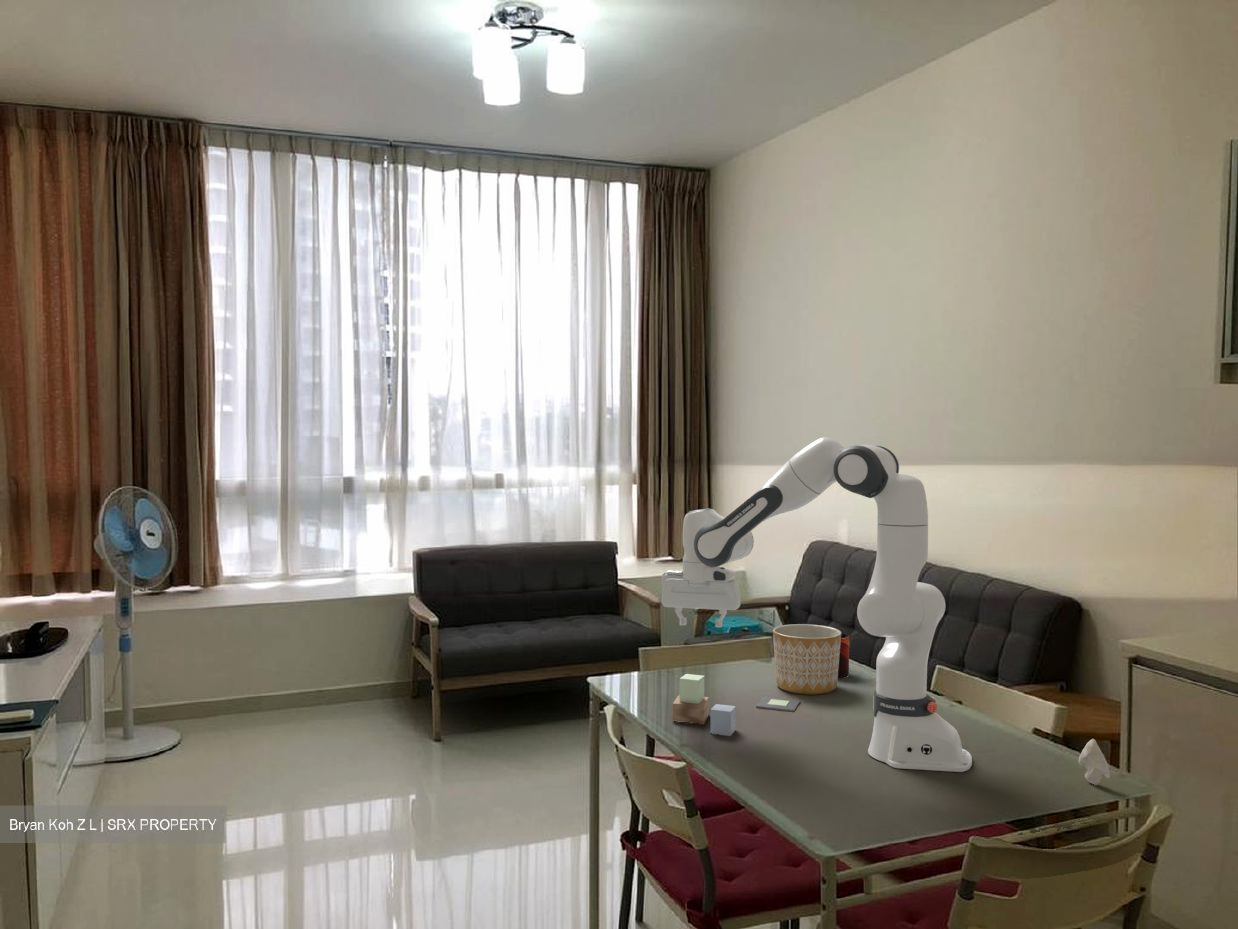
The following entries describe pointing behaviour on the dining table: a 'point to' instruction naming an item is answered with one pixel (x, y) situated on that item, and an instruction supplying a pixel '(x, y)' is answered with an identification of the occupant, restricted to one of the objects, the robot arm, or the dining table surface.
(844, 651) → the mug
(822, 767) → the dining table surface
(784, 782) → the dining table surface
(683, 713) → the walnut base
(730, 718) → the slate block
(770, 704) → the card
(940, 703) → the dining table surface
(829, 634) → the planter
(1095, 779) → the arrowhead
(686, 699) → the sage block
